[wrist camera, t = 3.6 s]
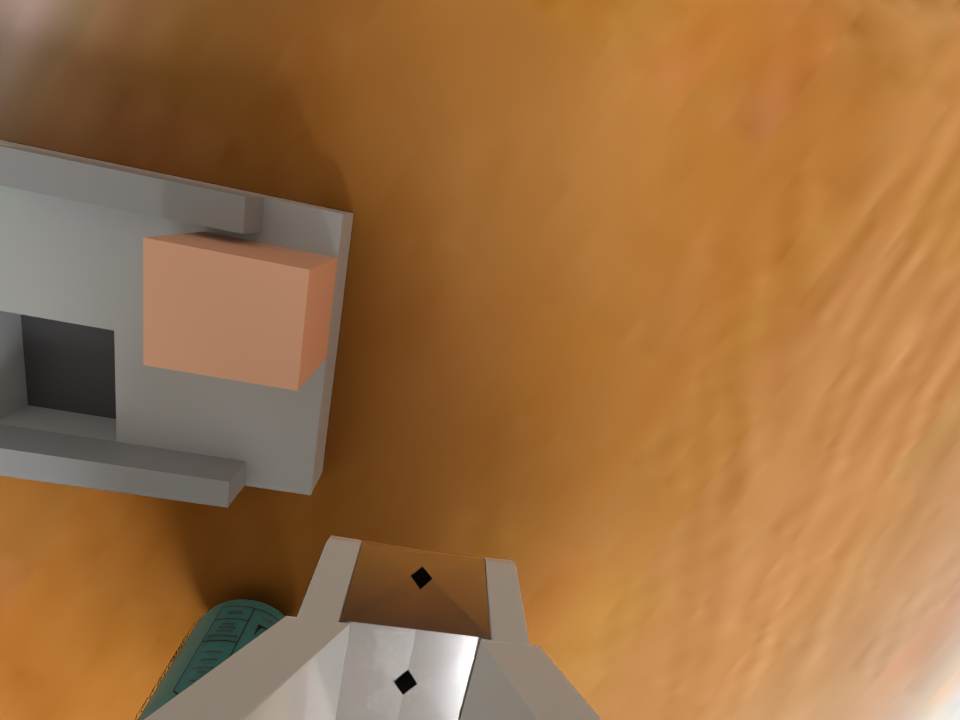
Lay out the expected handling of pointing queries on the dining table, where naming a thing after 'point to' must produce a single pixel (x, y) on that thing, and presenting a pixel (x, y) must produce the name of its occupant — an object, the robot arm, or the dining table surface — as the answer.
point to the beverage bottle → (212, 645)
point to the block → (236, 308)
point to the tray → (140, 337)
